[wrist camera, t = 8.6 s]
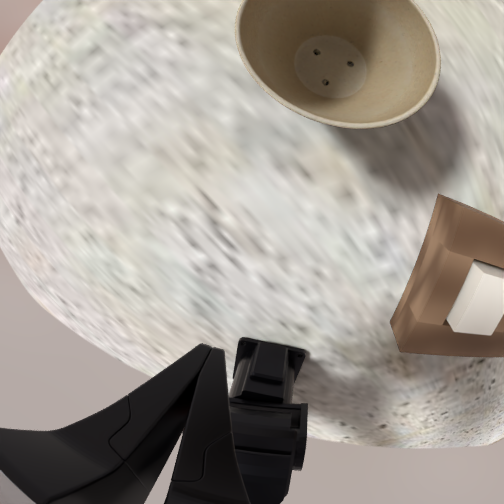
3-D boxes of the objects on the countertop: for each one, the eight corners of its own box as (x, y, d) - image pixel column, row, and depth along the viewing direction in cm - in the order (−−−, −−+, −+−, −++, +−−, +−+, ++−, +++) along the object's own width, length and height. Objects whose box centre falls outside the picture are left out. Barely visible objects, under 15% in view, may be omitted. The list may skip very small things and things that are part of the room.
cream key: (477, 315, 17) (491, 335, 15) (440, 309, 18) (453, 331, 15) (500, 266, 15) (518, 283, 12) (465, 254, 16) (483, 272, 13)
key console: (511, 336, 19) (524, 356, 16) (389, 321, 22) (399, 351, 18) (552, 248, 14) (572, 263, 11) (438, 193, 17) (463, 207, 13)
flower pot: (418, 112, 15) (470, 104, 8) (294, 152, 18) (290, 159, 11) (358, -1, 12) (376, -49, 5) (236, 37, 15) (203, -5, 8)
